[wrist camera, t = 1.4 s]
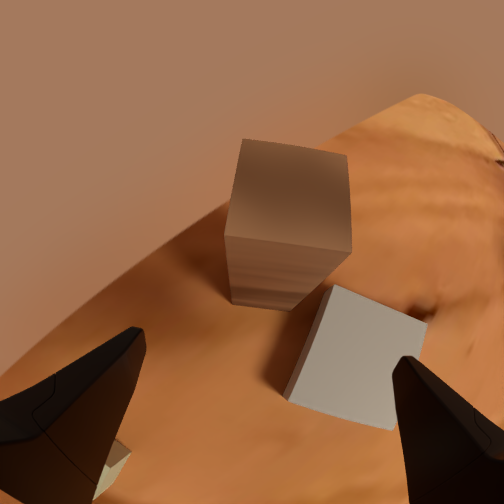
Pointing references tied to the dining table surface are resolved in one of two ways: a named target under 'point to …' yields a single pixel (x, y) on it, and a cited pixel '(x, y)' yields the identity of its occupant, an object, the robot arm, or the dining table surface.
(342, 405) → the slate slab
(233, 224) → the walnut pillar
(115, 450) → the sage cube
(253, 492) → the dining table surface
